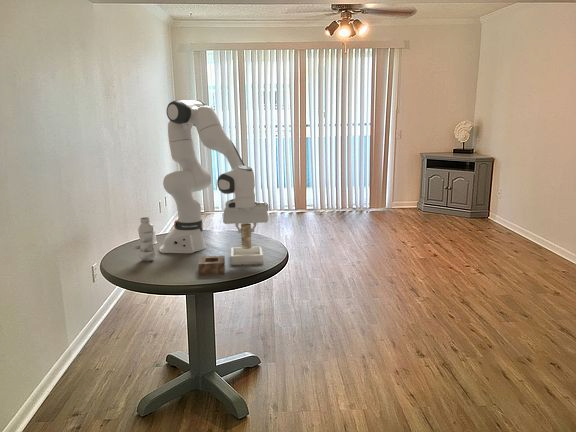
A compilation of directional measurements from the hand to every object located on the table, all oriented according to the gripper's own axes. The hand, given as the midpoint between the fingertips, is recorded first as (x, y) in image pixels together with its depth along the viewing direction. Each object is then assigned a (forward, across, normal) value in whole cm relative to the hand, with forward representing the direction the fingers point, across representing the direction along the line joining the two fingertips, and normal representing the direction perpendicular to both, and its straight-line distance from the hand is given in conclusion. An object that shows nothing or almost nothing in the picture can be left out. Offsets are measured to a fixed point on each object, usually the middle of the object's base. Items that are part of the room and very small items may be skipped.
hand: (246, 232), depth 215 cm
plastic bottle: (+13, +45, -4) cm, 47 cm away
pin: (+7, 0, 0) cm, 7 cm away
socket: (+13, +15, +14) cm, 24 cm away
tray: (+13, 0, 0) cm, 13 cm away
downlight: (+13, +49, -34) cm, 61 cm away
